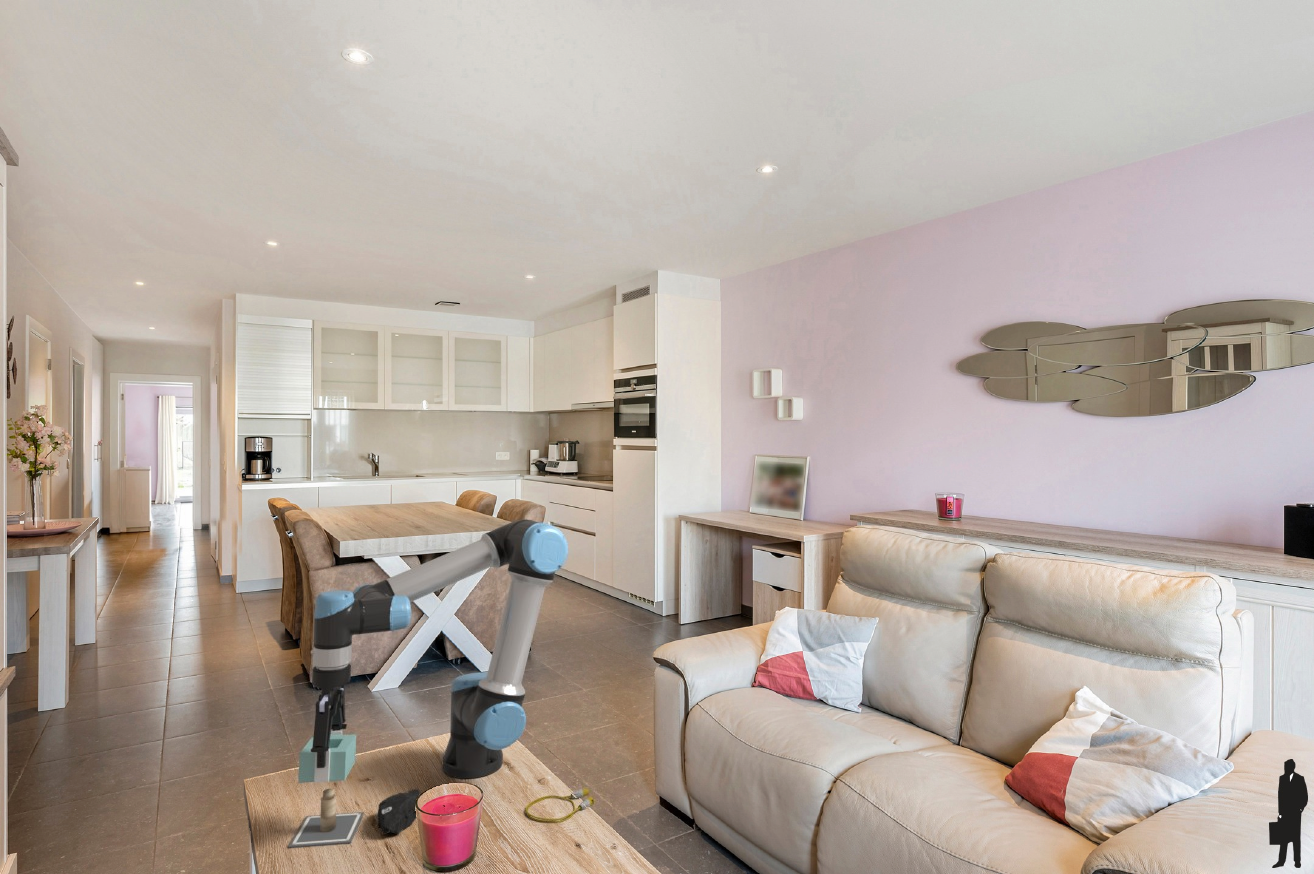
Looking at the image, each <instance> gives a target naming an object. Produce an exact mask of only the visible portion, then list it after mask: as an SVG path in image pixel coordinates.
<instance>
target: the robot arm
mask: <svg viewBox="0 0 1314 874" xmlns="http://www.w3.org/2000/svg"><path fill="white" fill-rule="evenodd" d="M568 545H569V544H568V541H567V539H566V537H565V535H564V533H563V532H562V531H561V530H560V529H559V528H557V527H555V526H553V525H551V524H549V523H548V522H547V523H546V522H540V521H536V520H533V519H532V520H531V519H524V518H523V519H518V520H515V521H511V522H509V523H506V524H504V525H502V526H499V527H497V528H495V529H493V530H490V531H488V532H486V533H483V534H481V537H480V539H479V540H476V541H474V542H472V543H469V544H467V545H465V546H462V547H460V548H457V549H455V550H453V551H451V552H448V553H446V554H443V555H441V556H438V557H436V558H434V559H432V560H428V561H427V562H424V563H421V564H420V565H417V566H415V567H412V568H410V569H408V570H405V571H403V572H401V573H398V574H395V575H394V576H391V577H389V578H386V579H384V580H382V581H378V582H376V583H372V584H370V583H369V584H368V583H367V584H361V585H359V586H357V587H356V588H355V589H354V590H353V591H349V590H343V589H342V590H327V591H323V592H320V593H319V594H318V595H317V596H316V599H315V605H314V606H315V607H314V614H313V619H314V620H313V649H311V650H310V654H311V655H313V657H312V666H314V667H313V668H312V669H311V671H312V673H311V685H312V686H313V687H315V688H317V689H318V688H319V689H321V693H320V694H319V695H318V700H317V701H316V702H315V704H314V705H315V717H314V728H313V735H312V736H313V746H312V749H311V752H315V774H314V782H313V783H314V784H318V783H320V784H321V783H329V782H330V781H329V771H330V749H329V742H330V735H343V730H346V729H347V726H348V724H347V723H345V722H346V720H347V719H346V697H345V695H346V691H345V690H346V689H345V688H346V685H348V684H349V683H350V682H351V676H352V675H351V674H352V665H351V664H350V663H352V655H353V654H352V653H353V651H352V650H353V636H354V635H355V636H358V635H366V634H375V633H384V632H395V631H399V630H405V629H407V628H408V627H409V625H410V623H411V619H412V606H411V603H413V602H415V601H417V600H419V599H421V598H423V597H425V596H428V595H430V594H432V593H434V592H437V591H440V590H442V589H444V588H446V587H449V586H451V585H453V584H455V583H457V582H460V581H462V580H464V579H466V578H469V577H471V576H474V575H476V574H478V573H480V572H483V571H485V570H487V569H489V568H493V569H499V568H502V567H503V566H508V568H507V574H508V575H509V576H510V579H511V581H510V584H509V588H508V591H507V596H506V600H505V604H504V608H503V611H502V615H501V619H500V623H499V627H498V631H497V635H496V638H495V643H494V646H493V651H492V655H491V658H490V663H489V667H488V669H487V672H472V673H467V674H462V675H459V676H457V677H455V678H454V679H453V680H452V681H451V688H450V689H451V690H450V735H449V739H448V742H447V745H446V747H445V752H444V754H443V757H442V762H441V763H442V769H441V770H442V771H443V773H444V774H446V775H448V776H450V777H453V778H457V779H476V778H482V777H486V776H489V775H491V774H494V773H496V771H498V770H500V769H501V768H502V766H503V765H504V764H503V763H504V753H503V750H504V749H507V748H509V747H510V746H511V745H513V744H514V743H515V742H517V741H518V740H519V738H520V737H521V736H522V735H523V732H524V731H525V728H526V723H527V716H526V712H525V710H524V708H523V704H524V699H525V696H526V689H525V688H524V686H523V684H522V682H523V678H524V673H525V671H526V670H525V669H526V666H527V662H528V659H529V658H528V657H529V654H530V649H531V646H532V641H533V638H534V634H535V630H536V625H537V621H538V618H539V614H540V609H541V605H542V601H543V598H544V593H545V590H546V587H547V586H549V585H550V584H551V583H553V582H554V579H555V575H556V573H557V571H558V570H560V569H561V568H562V567H563V566H564V564H565V563H566V561H567V558H568V555H569V546H568Z"/></svg>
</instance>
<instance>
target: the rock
mask: <svg viewBox="0 0 1314 874" xmlns="http://www.w3.org/2000/svg"><path fill="white" fill-rule="evenodd" d="M418 797H419V798H420V790H419V789H418V788H417V789H416V788H413V789H410V790H408V792H399V793H396V794H393V795H390V796H388V797H387V798H384V799H383V800H381V801H380V803H379V804H378V809H377V810H378V811H377V829H379V830H381V834H383V835H386V834H388V833H391V834H392V833H393V834H401V832H402V831H403V830H405V829H408V827H409V828H410V827H411V826H412V825H413V823H414V822H415V821H416V819H417V817H416V811H415V804H416V799H417V798H418Z"/></svg>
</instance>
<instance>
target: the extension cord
mask: <svg viewBox="0 0 1314 874" xmlns="http://www.w3.org/2000/svg"><path fill="white" fill-rule="evenodd" d="M571 793H572V794H574V795H575V796H576V797H577V798H575V797H574V796H573V795H572V794H571ZM571 793H570V795H566V796H565V795H564V796H559V795H545V796H542V797H537V798H536V799H534V800H532V801H530V802H529V803H528V804H527V805H526V807H525V812H526V816H527V817H528V818H529V819H531V820H533V821H536V822H540V823H541V822H542V823H553V824H555V823H562V822H566V821H567V820H569V819H571V818H572V817H573V816H574V814H575V813H576V812H577V811H583V810H585V809H587V808H586V807H588V808H590V807H592V805H594V804H595V803H596V802H595V799H594V797H593V796H589V795H590V791H589V788H585V789H582V788H580V789H577V790H575V791H573V792H571ZM588 796H589V797H588ZM584 797H588V798H586V799H583V800H582V802H581V803H580V804H579V805H578V807H577V808H576V806H575V802H574V801H573V800H572V799H582V798H584ZM547 799H559V800H561V799H563V800H566V801H569V802H571V803H572V806H573V810H572V811H571V812H570V813H568V814H566V815H564V816H562V817H559V818H547V817H539V816H536V815H533V814H531V813H530V812H529V809H530V808H531V806H532V805H534V804H537V803H538V802H542V801H546V800H547ZM582 803H583V804H585V806H586V807H585V806H584V805H583V804H582Z"/></svg>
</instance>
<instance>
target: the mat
mask: <svg viewBox="0 0 1314 874" xmlns="http://www.w3.org/2000/svg"><path fill="white" fill-rule="evenodd" d="M364 814H365V811H362V812H360V811H359V812H347V813H346V812H345V813H344V812H343V813H336V828H335V829H334V830H332V831H330V832H321V831H320V814H319V815H318V814H317V815H306V816H305V818H304V819H303V821H302V823H301V824H300V826H299V828H298V829H297V831H296V833H295V835H294V836H293V837H292V840H291V841H290V843H289V844H288V847H287V848H288V849H294V848H295V849H296V848H307V847H318V846H319V847H320V846H334V845H335V846H336V845H346V844H351V843H352V842H353V839H354V837H355V834H356V833H357V830H358V827H360V824H361V822H362V819H363V816H364Z"/></svg>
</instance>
